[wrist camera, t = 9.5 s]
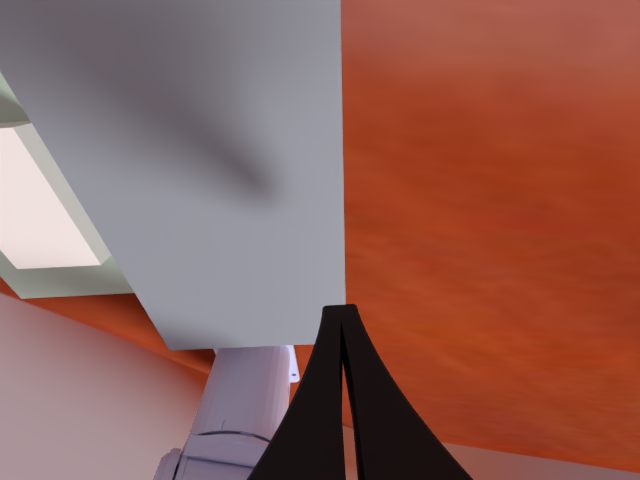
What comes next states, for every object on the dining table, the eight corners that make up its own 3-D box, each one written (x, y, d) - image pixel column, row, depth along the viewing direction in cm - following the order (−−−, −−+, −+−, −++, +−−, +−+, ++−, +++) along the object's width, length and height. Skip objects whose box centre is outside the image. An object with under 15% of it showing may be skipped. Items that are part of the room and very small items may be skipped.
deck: (342, 304, 25) (346, 342, 21) (189, 311, 25) (169, 350, 22) (331, -102, 11) (337, -167, 8) (6, -71, 12) (-117, -121, 8)
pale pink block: (16, 269, 19) (41, 252, 21) (101, 265, 19) (118, 248, 21) (-100, 134, 14) (-56, 126, 16) (12, 127, 14) (44, 119, 16)
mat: (172, 287, 23) (169, 291, 23) (25, 295, 24) (21, 298, 24) (11, -38, 12) (2, -40, 12) (-258, -13, 13) (-274, -16, 12)
